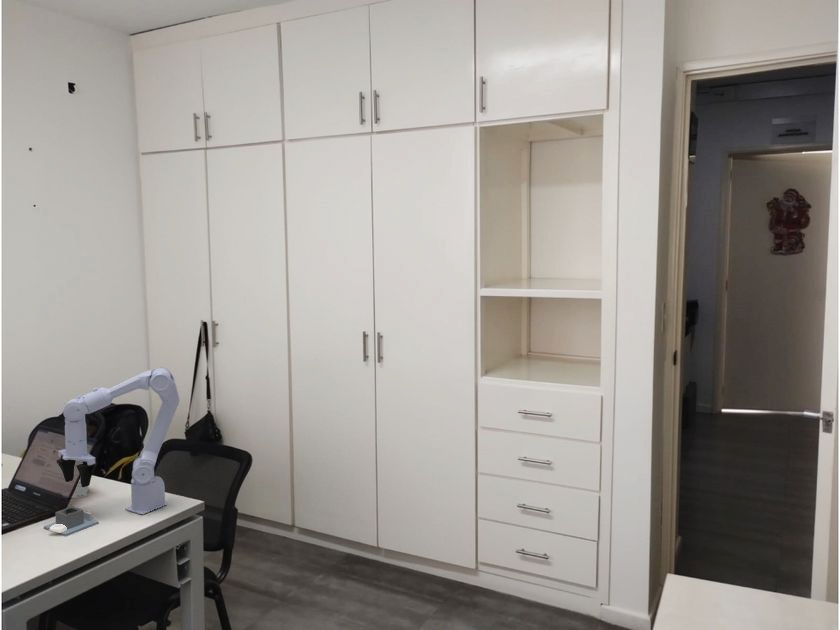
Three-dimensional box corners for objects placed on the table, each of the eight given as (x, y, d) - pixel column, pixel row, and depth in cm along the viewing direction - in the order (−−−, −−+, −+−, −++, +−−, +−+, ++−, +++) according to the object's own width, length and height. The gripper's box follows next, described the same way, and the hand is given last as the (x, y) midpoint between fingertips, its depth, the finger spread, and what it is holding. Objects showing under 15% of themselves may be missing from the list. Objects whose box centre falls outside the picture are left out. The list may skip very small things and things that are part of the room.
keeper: (77, 516, 210) (76, 504, 210) (98, 523, 205) (98, 511, 205) (43, 528, 201) (43, 516, 200) (65, 536, 196) (65, 524, 196)
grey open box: (72, 519, 206) (72, 506, 206) (83, 523, 204) (83, 510, 203) (55, 525, 202) (55, 512, 201) (67, 529, 199) (66, 516, 199)
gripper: (48, 438, 208) (49, 483, 209) (79, 447, 201) (80, 492, 202) (70, 433, 214) (71, 476, 215) (101, 441, 207) (102, 485, 208)
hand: (77, 483), depth 209 cm, fingers open, 7 cm apart
